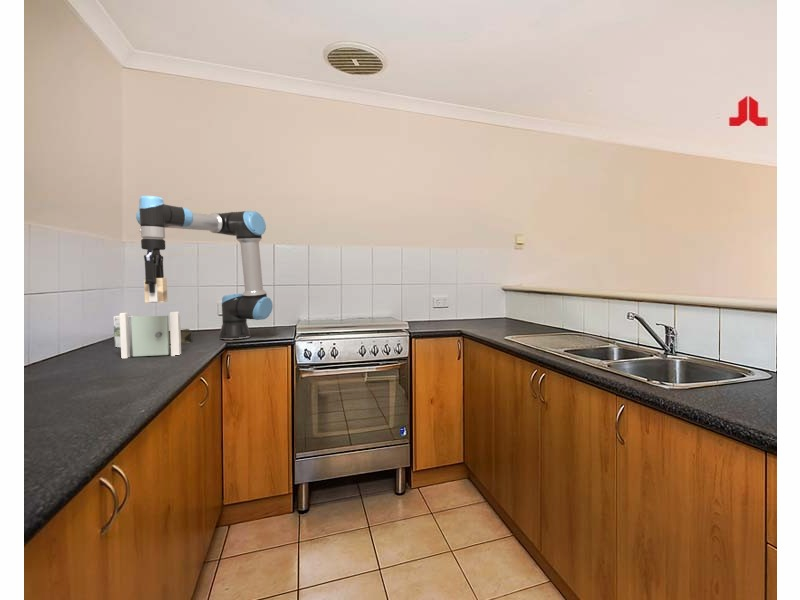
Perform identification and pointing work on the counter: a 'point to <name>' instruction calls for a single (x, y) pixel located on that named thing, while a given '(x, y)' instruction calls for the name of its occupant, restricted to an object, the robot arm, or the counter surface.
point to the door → (149, 335)
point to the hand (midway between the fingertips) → (156, 301)
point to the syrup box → (118, 330)
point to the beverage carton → (184, 336)
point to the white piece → (174, 334)
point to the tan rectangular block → (161, 290)
